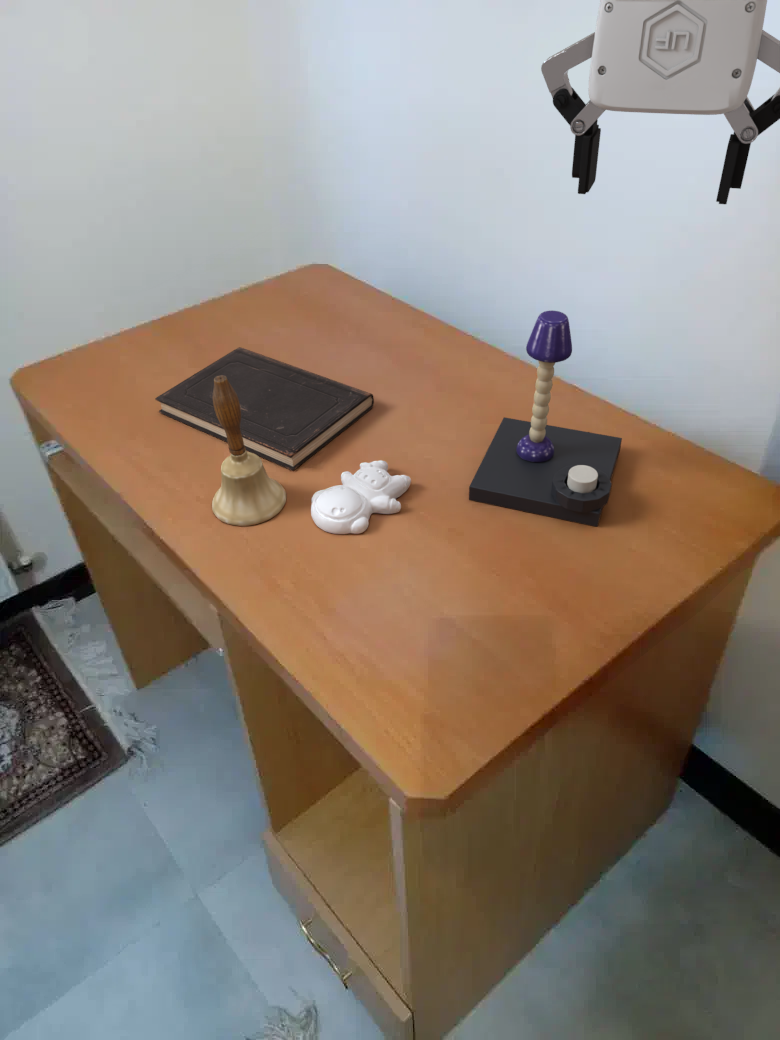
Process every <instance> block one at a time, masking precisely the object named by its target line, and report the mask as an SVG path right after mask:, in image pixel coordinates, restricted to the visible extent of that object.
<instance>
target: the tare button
mask: <svg viewBox="0 0 780 1040" xmlns="http://www.w3.org/2000/svg"><path fill="white" fill-rule="evenodd" d="M597 479H598V473H597V471H596V470H595V469H594V468H592V467H590V466H586V465H577V466H574V467H572V468H571V469H570V470H569V472H568V480H567V486H568V488H569V489H571V490H572V491H574V492H579V493H590V492H593V491H594V490H595V489H596V485H597Z"/></svg>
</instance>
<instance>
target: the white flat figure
mask: <svg viewBox="0 0 780 1040" xmlns="http://www.w3.org/2000/svg"><path fill="white" fill-rule="evenodd" d="M388 469H389V464H388V462H387V461H386V460H382V459H380V460H373V461H370V462H367V461H365V462H361V463H360V464H359V469H358V470H356V471H355V473H352V472H351V471H348V470H347V471H346V470H345V471H343V472H342V473H341V474H340V480H341V482H340V483H341V484H338V485H332V486H330V487H327V488H325V489H320V490H317V491H316V492H314V493H313V494H312V496H311V500H310V501H311V505H310V516H311V519H312V521H313V522H314V524H315V525H316V527H317V528H319V529H321V531H324V532H326V533H329V534H335V535H347V534H354V535H360V534H362V533H364V532H365V531H367V529H368V528H369V524H370V523H369V520H370V518H371V515H372V514H383V515H391V514H396V513H397V514H398V513H399V512H400V511H401V510H402V509H401V508H402V505H401V502H400V501H398V500H397V499H398V498H399V497H401V496H403V494H404V493H406V492H407V491H408V490H409V488H410V485H411V483H412V479H411V477H410V476H409V475H406V474H400V475H399V474H396V475H391V474H390V473H389V471H388Z"/></svg>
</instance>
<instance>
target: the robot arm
mask: <svg viewBox="0 0 780 1040" xmlns="http://www.w3.org/2000/svg"><path fill="white" fill-rule="evenodd" d="M598 4H599V5H598V11H597V17H596V24H595V30H594V32H592V33H590V34H589V35H587V36H585V37H584V38H581V39H580V40H578V41H576V42H574V43H572V44H570V45H568V46H567V47H565V48H563V49H562V50H560V51H558V52H557V53H555V54H553V55H551V56H549V57H548V58H547V59H545V60H544V62H542V64H541V66H540V71H541V74H542V75H543V76H542V77H543V79H544V82H545V84H546V87H547V89H548V92H549V94H550V96H551V98H552V104H553V106H554V108H555V109H556V110H557V112H558V113H559V115H560V116H562V118H563V119H564V120H565V122H567V124H568V126H570V127H569V128H570V131H571V133H572V134H573V135H574V145H573V157H572V167H571V178H572V179H578V186H577V194H578V195H586V194H587V193H589V192H590V190H591V189H592V187H593V185H594V184H595V183H596V178H597V168H598V160H599V152H600V151H599V150H600V141H601V133H602V128H600V127H599V126H600V125H599V124H598V122H599V121H598V119H599V118H600V117H601V116H602V115H603V114H604V112H605V111H610V112H621V113H622V112H623V113H641V114H642V113H645V114H670V115H696V116H697V115H698V116H703V115H704V116H710V115H711V116H712V115H713V116H714V115H724V117H725V119H726V120H727V122H728V124H729V126H730V127H731V130H733V133H731V134H730V136H729V138H728V143H727V147H726V152H725V156H724V161H723V167H722V171H721V177H720V181H719V187H718V189H717V195H716V200H715V202H717V203H718V205H727V204H728V199H729V194H730V190H731V189H738V190H740V189H741V188H742V184H743V181H744V176H745V171H746V168H747V167H746V166H747V162H748V158H749V154H750V149H751V145H752V143H753V142H754V141H756V139H757V138H758V136H760V135H761V134H762V133H764V132H765V131H766V130H767V129H769V128H770V127H772V126H773V125H774V124H775V123H777V122H779V120H780V87H779V88H778V89H777V90H776V92H775V93H774V94H772V96H770V97H769V98H768V99H766V100H765V101H764V102H763V103H761V104H760V105H759V106H758V107H757V108H755V107H754V106H753V104H752V102H751V100H750V98H749V97H748V95H749V93H750V89H751V86H752V82H753V79H754V75H755V71H756V66H757V62H758V61H760V62H761V63H763V64H765V65H766V66H768V67H769V68H770V69H772V70H774V71H775V72H777V73H779V74H780V39H778V38H777V37H775V36H773V35H772V34H770V33H769V32H767V31H765V30H764V29H763V28H764V23H765V18H766V17H765V16H766V12H767V11H766V10H767V4H768V0H599V3H598ZM589 59H590V66H589V76H588V98H589V100H588V101H587V103H585V101H584V100H583V99H582V97H581V96H580V95H579V94H578V93H577V91H576V90H575V89H574V88H573V87H572V86H571V83H570V78H569V75H568V73H569V70H570V69H573V68H574V67H576V66H578V65H580V64H582V63H584V62H586V61H588V60H589Z"/></svg>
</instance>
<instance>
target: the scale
mask: <svg viewBox="0 0 780 1040" xmlns="http://www.w3.org/2000/svg"><path fill="white" fill-rule="evenodd" d="M531 427H532V426H531V421H527V420H523V419H516V418H510V417H505V416H503V418H502V419H501V422H500V424H499V426H498V428H497V430H496V432H495V434H494V436H493V438H492V440H491V442H490V444H489V445H488V448H487V450H486V452H485V454H484V456H483V457H482V460H481V462H480V464H479V466H478V467H477V470H476V472H475V474H474V476H473V478H472V480H471V482H470V484H469V486H468V500H469V501H474V502H479V503H483V504H488V505H492V506H496V507H502V508H505V509H512V510H515V511H520V512H525V513H530V514H534V515H539V516H544V517H549V518H553V519H557V520H563V521H568V522H572V523H577V524H581V525H586V526H592V527H596V528H597V527H598V526H599V524H600V520H601V517H602V513H603V509H604V507H605V506H606V505H608V503H609V499H610V496H611V491H612V485H613V484H612V479H613V475H614V472H615V469H616V465H617V462H618V458H619V455H620V451H621V445H622V442H623V441H622V440H623V438H622V437H618V436H614V435H613V436H612V435H607V434H601V433H596V432H590V431H584V430H579V429H573V428H568V427H562V426H556V425H550V424H547V425H546V427H545V431H546V434H545V436H546V437H548V438H549V439H550V440H551V442H552V443H553V446H554V455H553V457H552V458H551V459H549V460H547V461H544V462H531V461H527V460H524V459H522V458H521V457H520V456H519V455H518V454H517V451H516V448H517V445H518V443H519V441H520V440H521V439H522V438H523V437H524V436H526V435H529V431H530V428H531ZM577 465H586V466H590V467H592V468H594V469H595V470H596V471H597V473H598V479H597V485H596V489H595V490H594V491H593V492H590V493H579V492H574V491H572V490H571V489H569V488H568V486H567V480H568V472H569V470H570V469H571V468H572V467H574V466H577Z"/></svg>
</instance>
